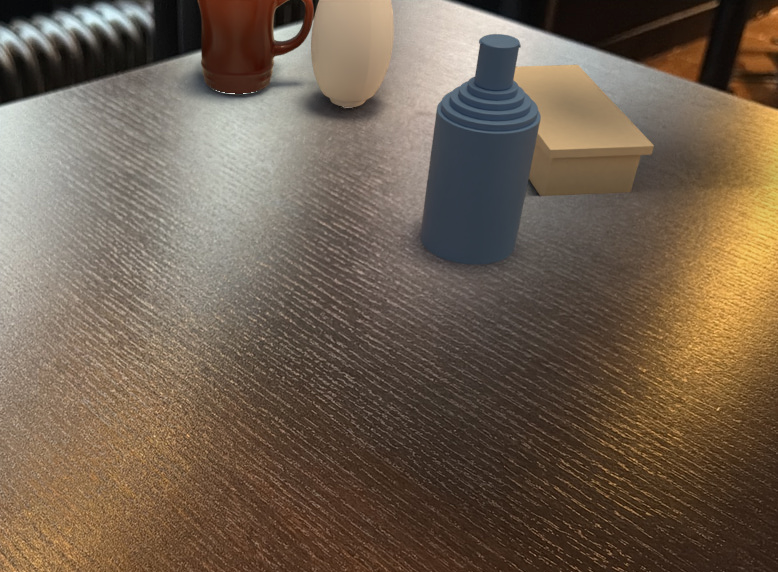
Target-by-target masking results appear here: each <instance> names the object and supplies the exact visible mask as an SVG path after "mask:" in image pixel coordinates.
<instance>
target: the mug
mask: <svg viewBox="0 0 778 572" xmlns="http://www.w3.org/2000/svg"><path fill="white" fill-rule="evenodd" d="M196 1H197V4H198V8H199V12H200V20H201V36H200V37H201V38H200V46H201V47H200V52H201V53H200V54H201V60H200V65H201V68H202V71H201V72H202V76H203V80H204V83H205V84H206V85H207V86H208V88H210V89H212V90H213V89H214V90H213V91H215V90H217V91H220V92H225V93H235V94H243V93H251V92H256V91H259V90H261V91H262V90H264V89H265V88H267V87H268V86H269V85H270V83H271V81H272V76H273V72H274V69H273V68H274V66H275V59H274V58H275V57H280V56H284V55H286V54H289V53H291V52H292V51H294V50H296V49H298V48H299V47H301V45H303V44H304V43H305V41H306V40H307V38H308V36H309V34H310V31H311V30H312V27H313V21H314V15H315V12H314V10H315V9H314V3H313V0H301V1H302V2H303V4H304V14H303V20H302V23H301V27H300V29H299V31H298V32H297V34H296V35H295V36H293V37H292V38H289V39H285V40H276V39H275V34H274V21H275V12H276V10H277V8H278V7H281V5H283V4H285V3H287V2H288V1H289V0H196ZM263 88H264V89H263ZM217 91H216V92H217ZM259 92H260V91H259ZM256 93H257V92H256Z"/></svg>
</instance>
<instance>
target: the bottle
mask: <svg viewBox="0 0 778 572" xmlns="http://www.w3.org/2000/svg"><path fill="white" fill-rule="evenodd" d="M478 44H479V48H478V52H477V53H478V54H477V60H476V67H475V73H474V76H472V77H470V78H469V79H468V80H467V81H464V82H463V83H462V84H460V85H459V86H457V87H454V89H453V90H452V91H449V92H447V93H446V94H445V95H444V96H443V97H442V99H441V100H440V102H438V104H437V106H436V112H435V120H434V128H433V134H432V142H431V150H430V156H429V157H430V158H429V166H428V173H427V179H426V180H427V182H426V187H425V195H424V203H423V211H422V219H421V226H420V233H419V237H420V242H421V244H422V246H423V247H424V248H425V250H427V251H428V252H430V253H431V254H433V255H434V256H436V257H438V258H441V259H443V260H446V261H449V262H452V263H457V264H461V265H471V266H474V265H475V266H476V265H478V266H479V265H488V264H495V263H498V262H500V261H503V260H505V259H507V258H508V257H509V256H511V255H512V254H513V252H514V251H515V248H516V244H517V240H518V239H517V238H518V234H519V228H520V224H521V219H522V213H523V208H524V204H525V198H526V193H527V187H528V183H529V174H530V169H531V164H532V159H533V154H534V149H535V144H536V139H537V134H538V129H539V124H540V119H541V115H540V112H539V111H538V107H537V105H536V103H535V102H534V101H533V100H532V99H531V98H530V97H529V96H528V95H527V94H526V93H525V92H524V90H523V89H522V88H521V87H519V86H518V84H517V83H516V82H515V81H514V80H513V79H514V73H515V68H516V67H517V61H518V56H519V50H520V49H521V47H522V45H521V42H520V40H519V39H518V38H517V37H514V36H512V35H508V34H503V33H492V34H491V33H490V34H486V35H483V36H482V37H480V38H479V39H478Z"/></svg>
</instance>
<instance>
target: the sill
mask: <svg viewBox="0 0 778 572" xmlns="http://www.w3.org/2000/svg"><path fill="white" fill-rule="evenodd" d="M513 80H514V81H515V82H516V83H517V84H518V86H519V87H521V88H522V89H523V90H524V92H525V93H526V94H527V95H528V96H529V97H530V98H531V99H532V100H533V101H534V102H535V103H536V105H537V107H538V111H539V112H540V115H541V119H540V124H539V129H538V134H537V139H536V144H535V149H534V154H533V159H532V164H531V169H530V174H529V179H528V181H529V182H530V183H531V184H532V186H533V187H534V189H535V191H536V192H537V193H538V195H539V197H554V196H556V197H557V196H577V195H578V196H579V195H600V194H602V195H603V194H626V193H631V192H632V190H633V189H632V188H633V185H634V181H635V177H636V174H637V171H638V167H639V164H640V160H641V156H646V155H647V156H648V155H649V156H651V155H653V151H654V147H655V145H654V144H653V143H652V142H651V141H650V139H649V138H647V137H646V135H645V134H643V132H642V131H641V129H639V128H638V127H637V126H636V125H635V124H634V122H633V121H631V119H630V118H629V117H628V116H626V114H625V113H624V112H623V111H622V110H621V109H620V108H619V107H618V106H617V104H615V102H614V101H613V100H611V98H610V97H609V96H608V95H607V94H606V93H605V92H604V90H603V89H601V88H600V86H599V85H598V84H597V83H595V81H594V80H593V79H592V78H591V77H590V76H589V75H588V74H587V73H586V72H585V70H583V68H582V67H581V66H580V65H579V64H557V65H556V64H555V65H551V64H550V65H524V66H523V65H522V66H521V65H520V66H519V65H518V66H516V68H515V73H514V79H513Z"/></svg>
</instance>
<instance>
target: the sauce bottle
mask: <svg viewBox="0 0 778 572" xmlns="http://www.w3.org/2000/svg"><path fill="white" fill-rule="evenodd" d="M392 4H393V3H392V0H318V3H317V5H316V9H315V12H314V16H313V22H312V27H311V35H310V36H311V37H310V55H311V64H312V71H313V73H314V78H315V80H316V83H317V86H318V88H319V89H320V91H321V93H322V94H323V96H325V97H326V98H328V99H329V101H330V102H331V103H332V104H334V105H336V106H338V107H339V106H344V107H355V108H356V107H360V106H362V105H364V103H365V102H366V101H367V100H369V99H371V98H372V97H373V96H375V94H376V93H377V91H378V90H379V88H380V86H381V85H382V83H383V81H384V80H385V78H386V75H387V72H388V70H389V66H390V62H391V58H392V53H393V46H394V36H395V35H394V33H395V28H394V27H395V23H394V21H395V20H394V11H393V5H392Z"/></svg>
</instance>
